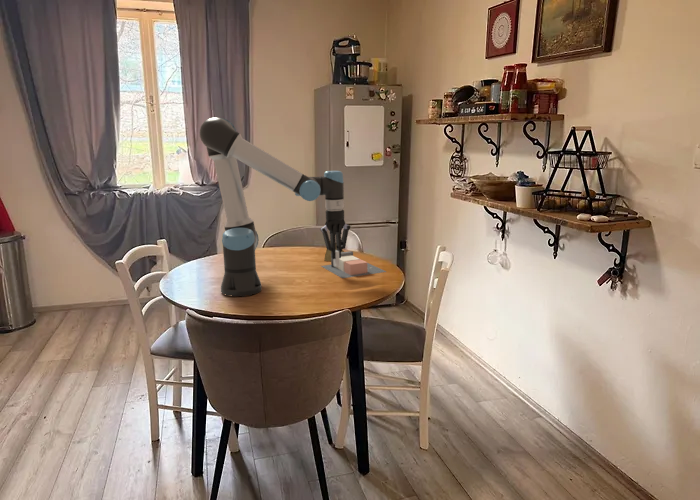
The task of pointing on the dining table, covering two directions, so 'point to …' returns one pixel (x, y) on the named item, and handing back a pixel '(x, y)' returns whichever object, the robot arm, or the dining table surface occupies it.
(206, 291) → the dining table surface
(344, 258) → the clamped cream block
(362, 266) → the stub
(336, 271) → the mat
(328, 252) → the rock
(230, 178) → the robot arm
